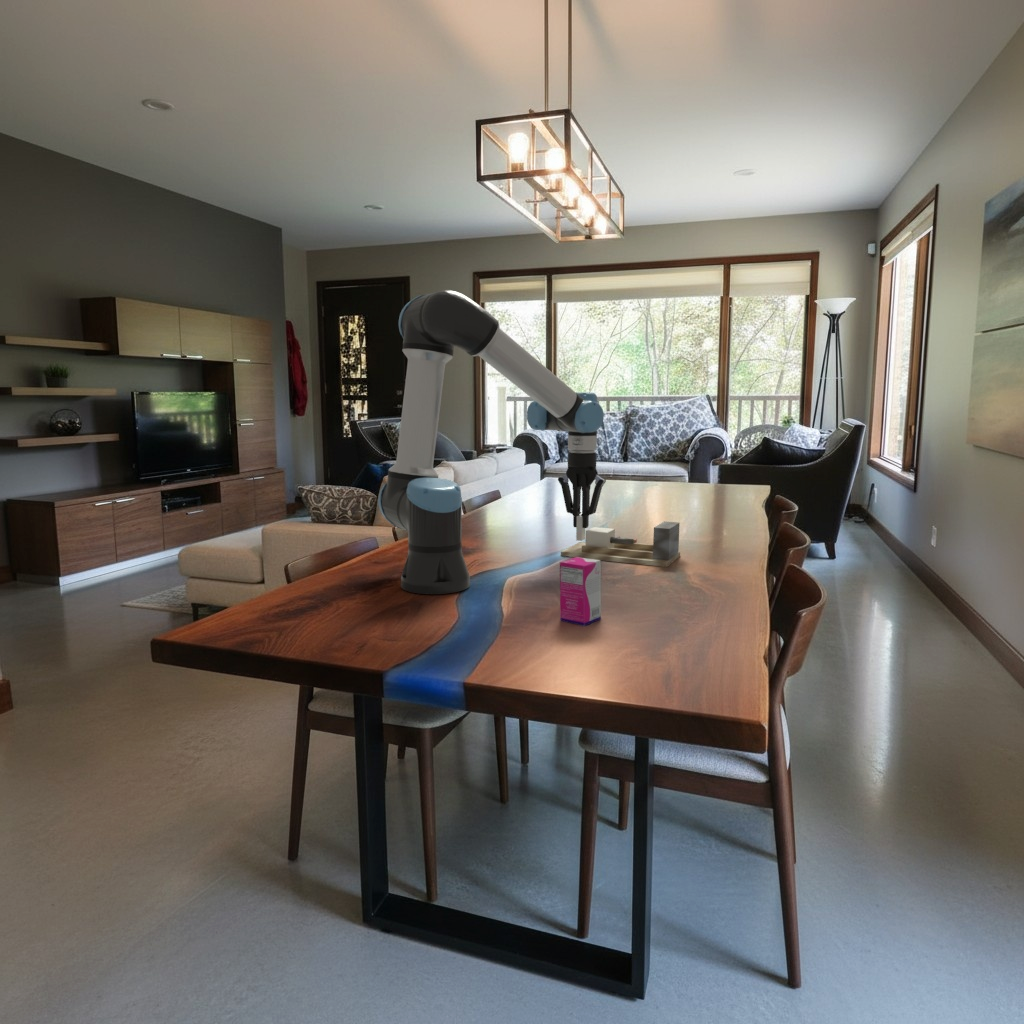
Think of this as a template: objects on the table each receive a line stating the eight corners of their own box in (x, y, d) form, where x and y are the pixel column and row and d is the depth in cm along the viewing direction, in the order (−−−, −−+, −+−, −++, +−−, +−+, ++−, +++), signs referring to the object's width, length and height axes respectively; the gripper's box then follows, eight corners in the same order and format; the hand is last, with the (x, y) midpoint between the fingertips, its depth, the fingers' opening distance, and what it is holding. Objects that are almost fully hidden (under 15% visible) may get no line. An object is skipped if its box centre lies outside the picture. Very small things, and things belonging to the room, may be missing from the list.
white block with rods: (585, 549, 198) (585, 530, 198) (598, 542, 207) (598, 524, 207) (629, 553, 193) (629, 534, 193) (640, 546, 202) (641, 528, 201)
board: (560, 555, 197) (561, 521, 196) (580, 546, 210) (580, 513, 208) (666, 566, 185) (667, 530, 184) (680, 555, 198) (681, 521, 196)
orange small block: (633, 546, 201) (633, 539, 201) (634, 546, 202) (634, 538, 202) (635, 547, 201) (635, 539, 201) (636, 546, 202) (636, 538, 202)
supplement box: (575, 613, 146) (576, 555, 145) (601, 619, 143) (602, 560, 141) (558, 620, 142) (559, 561, 140) (584, 626, 138) (585, 565, 137)
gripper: (553, 451, 198) (552, 540, 201) (600, 453, 192) (598, 544, 196) (564, 449, 204) (563, 535, 208) (610, 451, 199) (608, 539, 202)
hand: (580, 539), depth 202 cm, fingers closed
